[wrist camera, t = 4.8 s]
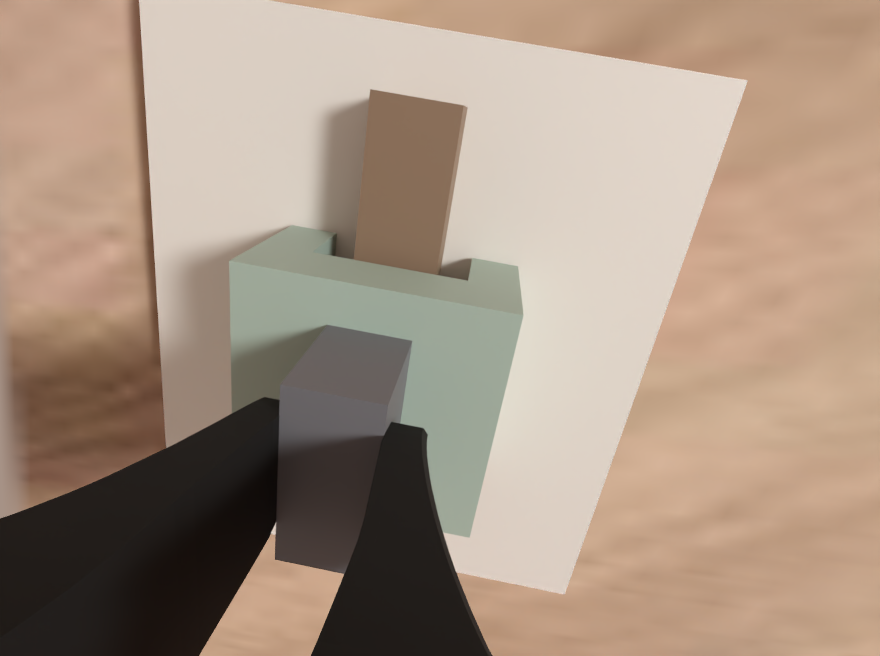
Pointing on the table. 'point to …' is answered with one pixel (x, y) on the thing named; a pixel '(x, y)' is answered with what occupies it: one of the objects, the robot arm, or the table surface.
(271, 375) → the sage slotted block
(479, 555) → the board
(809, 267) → the table surface
